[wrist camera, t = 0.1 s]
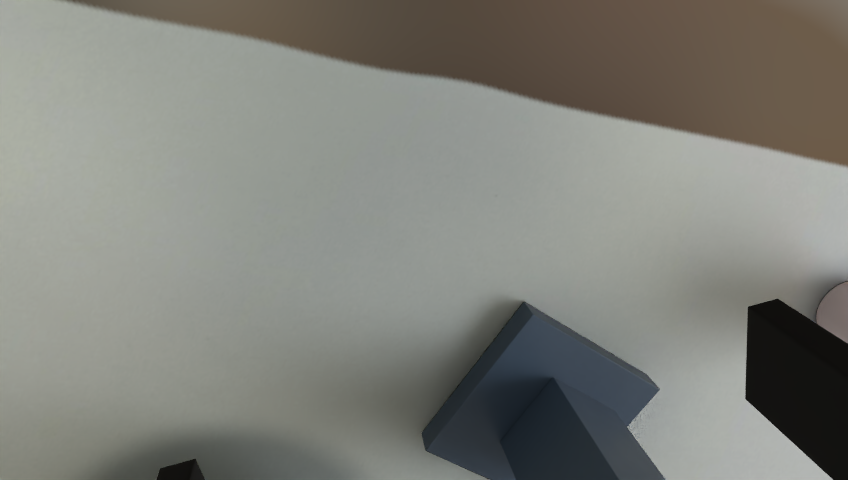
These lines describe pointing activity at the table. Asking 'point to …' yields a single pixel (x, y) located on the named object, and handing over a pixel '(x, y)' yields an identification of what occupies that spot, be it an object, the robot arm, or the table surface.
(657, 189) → the table surface
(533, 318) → the lectern stand
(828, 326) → the smoothie
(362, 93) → the table surface
